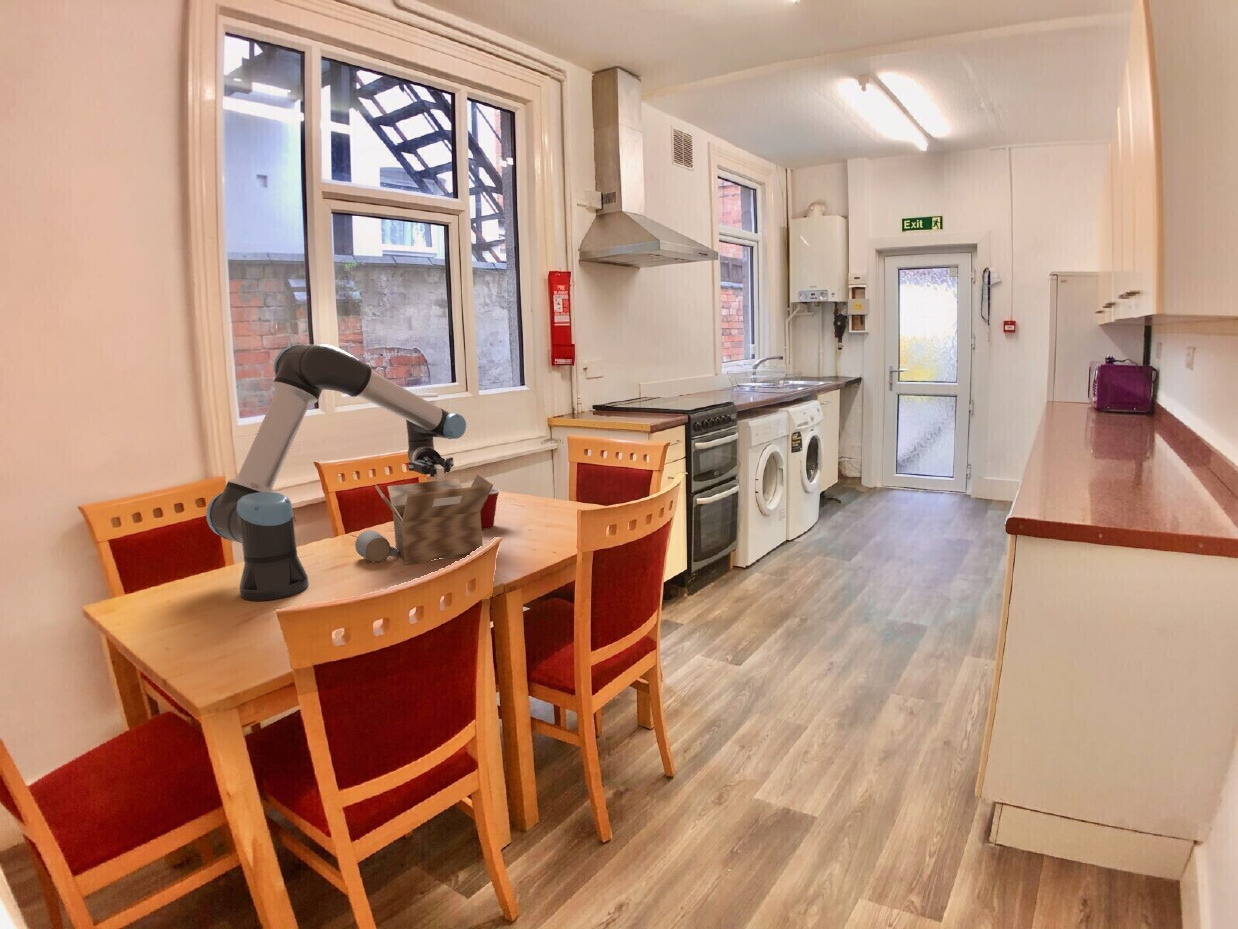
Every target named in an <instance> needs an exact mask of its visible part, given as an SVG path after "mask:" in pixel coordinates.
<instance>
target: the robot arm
mask: <svg viewBox="0 0 1238 929" xmlns="http://www.w3.org/2000/svg"><path fill="white" fill-rule="evenodd" d="M273 364H274V365H273V372H274V374H275V378H274V380H273V382H272V386H273V388H274V390H275V394H274V395H273V398H272V399H271V403H270V404H269V406H268V408H267V410H266V413H265V416H264V418H263V420H262V422H261V424H260V426H259V428H258V431H257V433H256V435H255V437H254V439H253V441H252V444H251V446H250V448H249V451H248V453H247V454H246V457H245V459H244V461H243V464H242V465H241V468H240V470H239V472H238V475H237V476H236V477H235V478H232V479H230V480H227V483H226V485H225V487H224V489H223V492H221V493H219V494H217V495H216V496H214V497H213V498H212V499H211V500H210V501H209V503H208V506H207V508H206V514H205V515H206V521H207V525H208V526H209V528H210V529H211V531H212V532H213V533H214V534H216V535H217V536H220V538H222V539H224V540H228V541H232V542H233V541H234V542H236V543H239V544H241V547H242V553H243V561H244V564H243V569H242V574H241V578H240V583H239V594H240V598H241V599H244V600H247V601H254V602H255V601H257V602H259V601H270V600H277V599H282V598H287V597H290V596H294V595H296V594H299V593H300V592H302V591H305V589H307V588H308V587H309V577H308V574H307V572H306V570H305V568H304V566H303V564H302V562H301V560H300V558H299V556H298V551H297V550H298V549H297V541H296V532H295V530H296V529H295V522H294V510H293V507H292V502H291V499H290V498H289V497H288V496H287V495H285V494H283V493H280V492H274V491H273V488H274V486H275V484H276V481H277V479H278V476H279V474H280V472H281V470H282V468H283V465H284V464H285V460H286V458H287V456H288V454H289V451H290V449H291V447H292V445H293V442H294V440H295V438H296V435H297V434H298V431H299V429H300V426H301V425H302V422H303V419H304V418H305V415H306V413H307V410H308V408H309V406H310V405H313V404H316V403H318V401H319V398H320V396H321V394H322V392H323V390H324V391H325V390H326V391H333V392H334V391H335V392H339V393H343V394H345V395H348V396H350V397H352V398H356V397H360V398H362V399H364V400H366V401H368V402H370V403H371V404H374V405H376V406H378V407H381V408H382V409H384V410H386V411H388V412H390V413H392V414H395V415H396V416H397V417H398V416H399V417H400V418H402V419H404V420H405V422H406V430H407V439H408V440H407V447H408V449H407V458H408V460H409V461H408V471H410V472H416V473H418V474H421V475H425V476H426V475H429V476H430V477H431V478H432V477H433V478H434V477H437V479H445V474H447V473H450V472H451V470H452V467H455V465H454V457H448V458H444V457H442V455H441V454H440V453H439V452H438V451H437V450H435V445H434V438H438V439H439V438H441V439H447V440H452V439H453V440H455V439H456V440H457V439H459V438H461V437H463V435H464V434H465V433H466V430H467V422H466V421H467V420H465V418H464V416H463V415H461V414H459V413H456V412H449V411H446V410H445V409H444V408H441V407H439V406H437V405H435V404H433V403H432V402H430V401H428V400H427V399H424V398H422V397H421V396H419V395H417V394H415V393H413V392H411V391H410V390H408V389H406V388H404V387H403V386H400V385H399V384H397V383H395V382H394V381H392V380H390V379H388V378H386V377H384V376H382V375H380V374H379V373H377V372H375V371H374V370H373V368H372V366H371V365H370V364H368V363H367V362H364V361H363V360H361V359H359V358H357V357H356V356H354V355H352V354H350V353H349V352H346V351H345V350H342V349H341V348H339V347H335V346H333V345H330V344H324V343H323V344H322V343H320V344H305V343H301V344H299V343H298V344H293V345H291V346H288V347H285V348H284V349H282V350H281V351H280V352H279V353H278V354H277V356H276V358H275V360H274V362H273Z"/></svg>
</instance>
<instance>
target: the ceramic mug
mask: <svg viewBox="0 0 1238 929" xmlns="http://www.w3.org/2000/svg"><path fill="white" fill-rule="evenodd" d="M354 545H355V550H356V552H357V554H358V555H359V556H361V557H362V558H364V559H366V560H367V561H368V562H372V563H375V564H376V563H381V562H383V561H385V560H386V559H387V558H388V557H390V556H391V557H399V556H400V554H399V552H400V551H399V550H398V549H396V547H393V546H391V544H390V542H389V540H388V539H387V538H386V537H385V536H383V535H381V534H380V532H377V531H376V530H372V529H371V530H370V529H369V530H366V531H363V532H361V533H360V534H358V536H357V537H356V540H355V544H354Z"/></svg>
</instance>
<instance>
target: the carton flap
mask: <svg viewBox="0 0 1238 929" xmlns="http://www.w3.org/2000/svg"><path fill="white" fill-rule="evenodd" d="M489 489H490V485H485V486H477V487H471V486H470V487H462V488H459V489H451V490H442V491H434V492H425V493H416V494H408V496H407V501H406V505H405V510H404V515H403V522H404V521H412V520H419V519H427V518H435V517H442V516H450V515H458V514H465V513H473V512H480V509H481V507H482V505H483V503H484V501H485V498H486V496H487V494H488V492H489Z"/></svg>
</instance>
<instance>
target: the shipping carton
mask: <svg viewBox="0 0 1238 929" xmlns="http://www.w3.org/2000/svg"><path fill="white" fill-rule="evenodd" d="M485 485H490V489H489V492H488V494H487V496H486V498H485V501H486V499H487V497H488V495H489V493H490V491H491V489H493V486H494V484H492V483H491V482H489V481H488V480H487V479H485V478H484V477H482V476H481V475H480V474H476V475H475V477H474V479H473V482H472V483H471V486H470V487H477V486H485ZM374 487H375V489H376V491H377V492H378V493H379V496H381V498H382V500H383V501H384V503H385V504H386V505H387V506H388V508H389V509H390V510H391V511H392V519H393V529H394V541H395V548H397V549H398V550H399V551H400V552H399V557H400V558H401V560H402V561H404V562H403V563H404V565H405V566H409V565H414V564H415V565H416V564H422V563H421V562H423V563H426V562H425V561H429V562H432V561H431V560H434V559H439V558H449V559H453V558H452V557H455V558H461V557H466V555H469V554H470V553H471V552H472V551H475V550H476V549H477V548H479V547H480V546H483V533H482V532H483V529H481V515H480V512H473V513H465V514H458V515H450V516H442V517H435V518H427V519H419V520H412V521H404V522H403V515H404V510H405V505H406V501H407V496H408V494H416V493H425V492H434V491H442V490H451V489H459V488H463V486H462V484H461V481H460V477H459V478H450V479H442V480H434V481H424V482H415V483H405V484H398V485H396V484H395V485H387V491H388V495H389V499H390V501H389V499H388V498H387V497H386V496H385V494H384V493H383V491H382V490H381V489H380V487H379V486H378V484H376V485H375V486H374ZM485 501H484V503H485ZM484 503H483V505H484ZM483 505H482V507H481V509H480V511H481V510H482V508H483ZM483 547H484V546H483ZM459 556H460V557H459ZM469 556H470V555H469ZM455 558H454V559H455Z"/></svg>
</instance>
